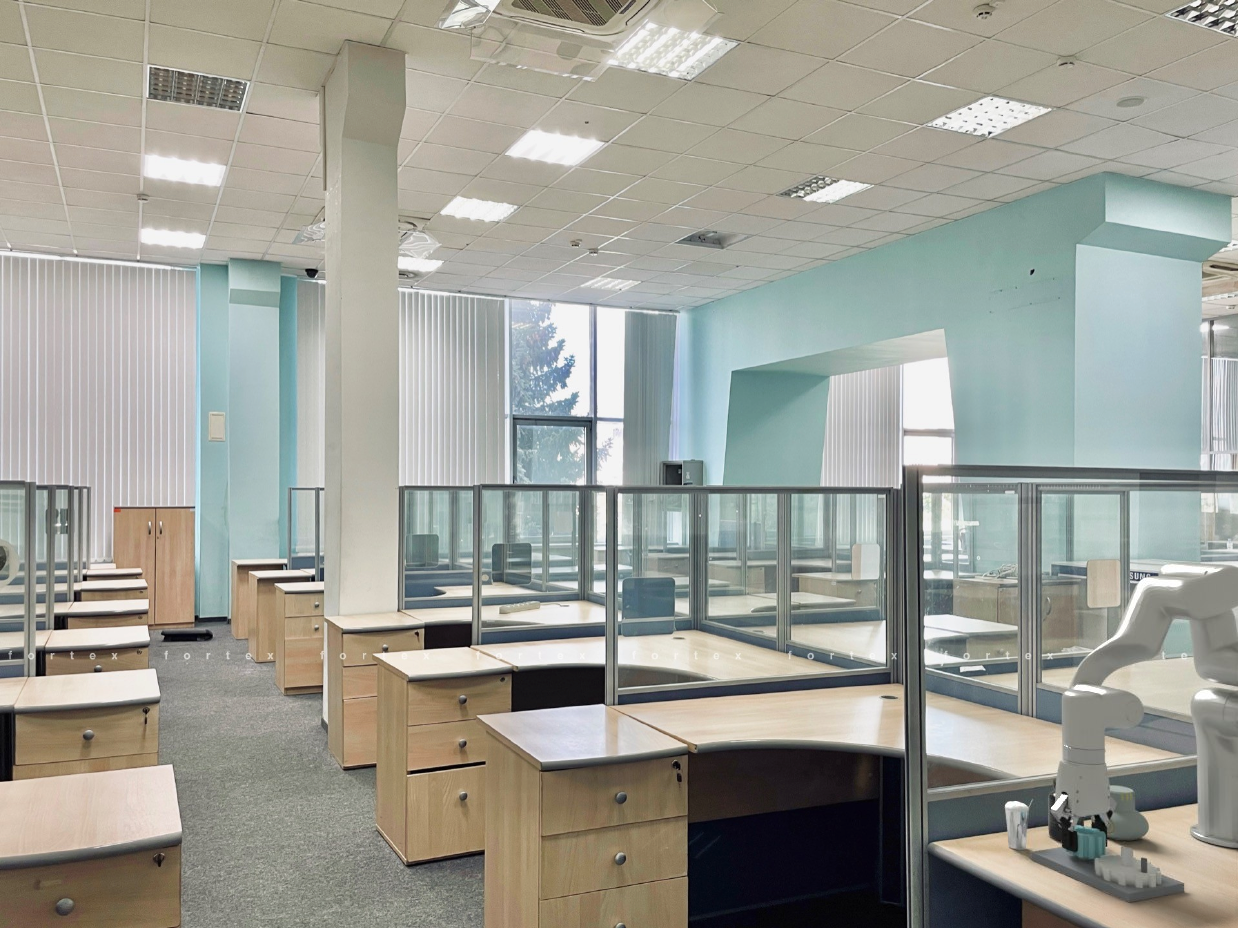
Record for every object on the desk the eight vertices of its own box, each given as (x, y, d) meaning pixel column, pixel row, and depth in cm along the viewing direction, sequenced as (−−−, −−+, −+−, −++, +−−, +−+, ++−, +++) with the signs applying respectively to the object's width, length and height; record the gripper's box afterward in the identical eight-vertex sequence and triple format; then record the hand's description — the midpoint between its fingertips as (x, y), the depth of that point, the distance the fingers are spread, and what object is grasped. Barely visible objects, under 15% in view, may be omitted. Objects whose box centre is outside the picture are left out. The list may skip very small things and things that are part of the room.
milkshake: (1035, 852, 190) (1035, 802, 190) (1007, 850, 191) (1007, 800, 191) (1030, 844, 194) (1030, 795, 195) (1003, 842, 195) (1002, 793, 196)
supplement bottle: (1078, 834, 201) (1078, 777, 202) (1088, 844, 195) (1087, 786, 195) (1044, 831, 203) (1044, 775, 203) (1053, 842, 196) (1052, 783, 197)
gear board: (1083, 850, 191) (1083, 818, 192) (1184, 891, 171) (1183, 854, 171) (1031, 859, 186) (1030, 825, 186) (1128, 902, 166) (1128, 864, 166)
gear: (1083, 843, 187) (1082, 823, 188) (1114, 855, 181) (1114, 834, 181) (1056, 848, 185) (1055, 827, 185) (1086, 860, 178) (1086, 839, 178)
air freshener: (1084, 829, 205) (1084, 782, 205) (1117, 826, 207) (1116, 780, 207) (1122, 846, 194) (1121, 797, 195) (1156, 843, 196) (1155, 795, 197)
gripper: (1099, 746, 190) (1100, 835, 190) (1034, 753, 184) (1035, 846, 183) (1132, 755, 184) (1133, 848, 183) (1065, 763, 177) (1067, 859, 176)
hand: (1084, 846), depth 183 cm, fingers closed on gear, 7 cm apart
